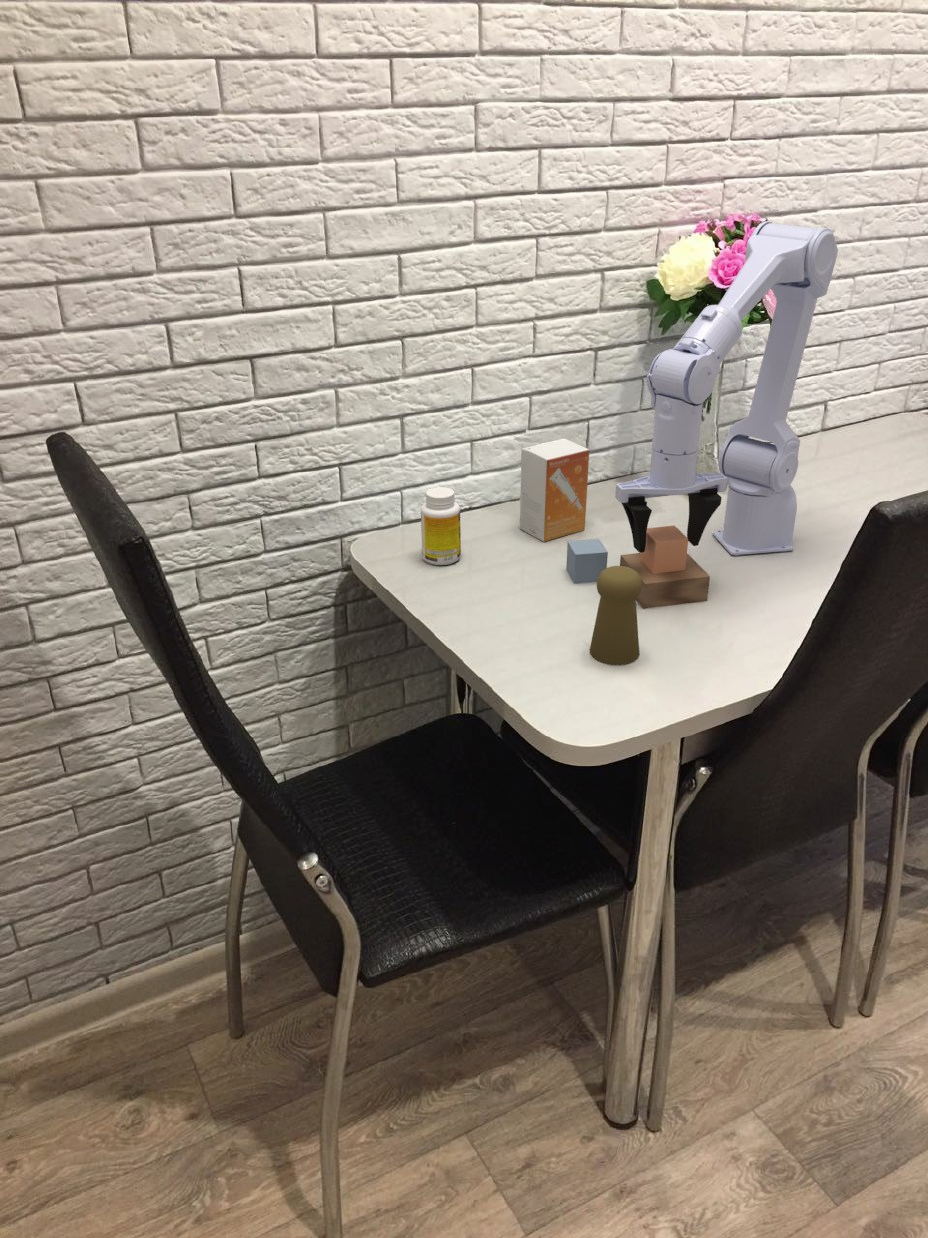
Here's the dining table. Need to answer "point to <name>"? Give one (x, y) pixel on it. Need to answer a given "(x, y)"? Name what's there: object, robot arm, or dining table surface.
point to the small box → (553, 489)
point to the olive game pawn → (616, 617)
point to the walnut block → (669, 583)
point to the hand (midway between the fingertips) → (666, 546)
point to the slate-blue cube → (585, 560)
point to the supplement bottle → (440, 527)
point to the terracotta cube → (665, 549)
